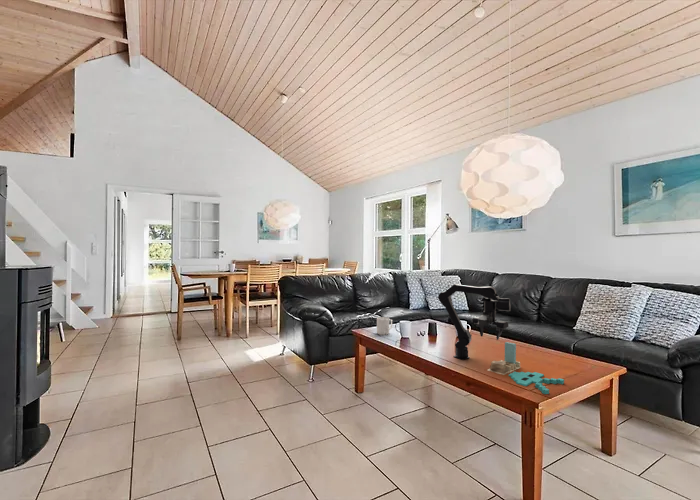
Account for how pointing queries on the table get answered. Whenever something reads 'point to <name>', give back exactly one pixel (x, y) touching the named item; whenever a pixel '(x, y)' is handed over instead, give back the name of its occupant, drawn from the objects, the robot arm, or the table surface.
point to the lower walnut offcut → (499, 369)
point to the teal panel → (510, 352)
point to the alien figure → (534, 380)
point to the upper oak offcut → (498, 364)
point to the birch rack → (509, 367)
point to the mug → (383, 325)
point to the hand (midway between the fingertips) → (489, 338)
